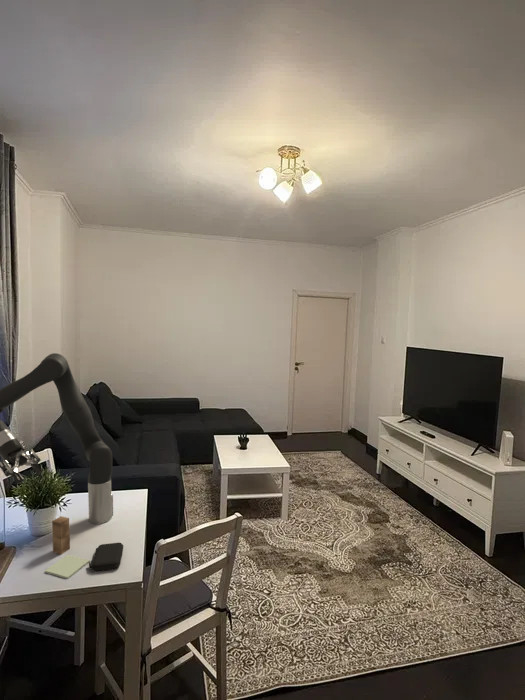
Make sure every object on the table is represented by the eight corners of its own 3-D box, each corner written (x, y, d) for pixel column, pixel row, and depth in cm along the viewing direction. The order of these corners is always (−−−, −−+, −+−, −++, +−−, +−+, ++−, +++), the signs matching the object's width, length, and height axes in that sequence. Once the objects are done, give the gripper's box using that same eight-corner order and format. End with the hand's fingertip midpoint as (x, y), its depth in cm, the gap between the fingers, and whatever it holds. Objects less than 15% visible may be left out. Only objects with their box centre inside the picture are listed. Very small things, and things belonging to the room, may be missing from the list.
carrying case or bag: (94, 551, 150) (86, 575, 136) (94, 543, 150) (86, 567, 136) (124, 547, 153) (119, 571, 138) (124, 539, 152) (119, 563, 138)
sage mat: (67, 556, 146) (67, 554, 146) (89, 561, 143) (89, 560, 143) (44, 572, 137) (44, 570, 137) (67, 578, 133) (67, 577, 133)
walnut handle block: (61, 546, 152) (60, 516, 151) (70, 548, 151) (69, 518, 150) (53, 552, 148) (52, 521, 147) (61, 554, 147) (60, 523, 146)
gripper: (-5, 443, 145) (21, 478, 144) (27, 433, 159) (51, 465, 157) (-16, 456, 147) (9, 490, 145) (16, 444, 161) (40, 476, 159)
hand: (31, 477), depth 151 cm, fingers open, 8 cm apart
